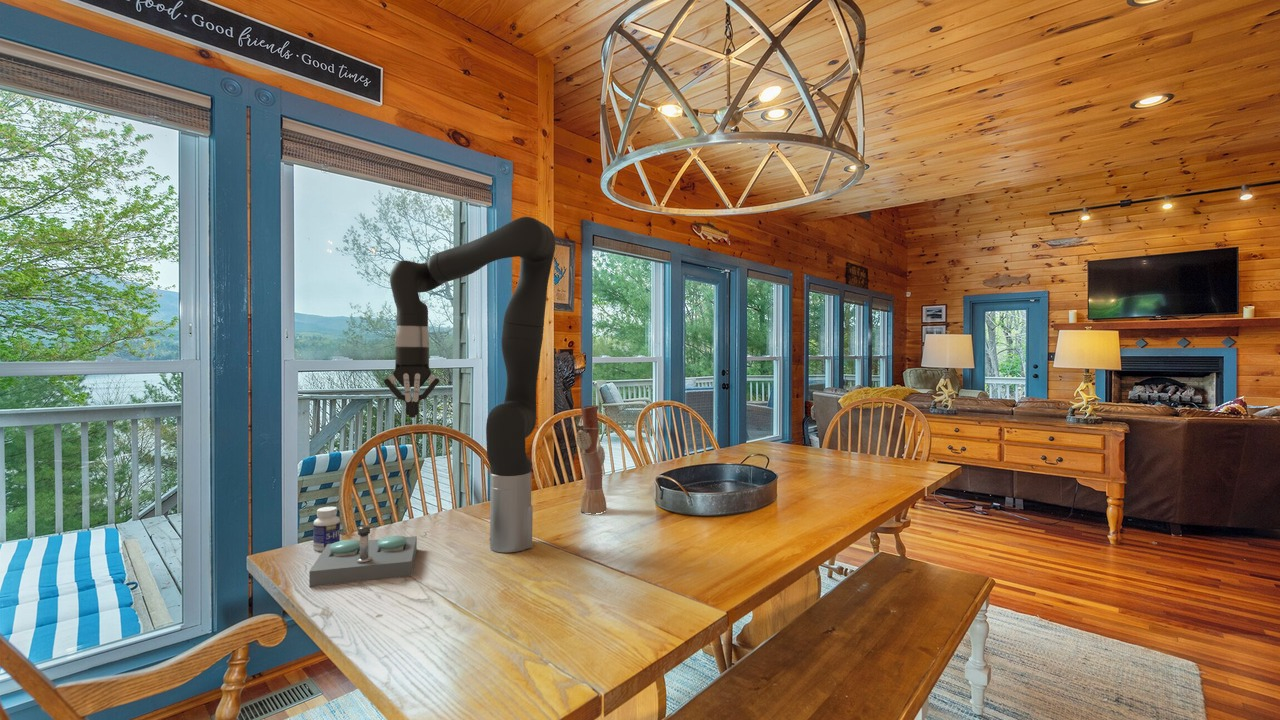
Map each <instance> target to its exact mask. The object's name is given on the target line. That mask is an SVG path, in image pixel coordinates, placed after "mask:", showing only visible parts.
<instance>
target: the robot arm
mask: <svg viewBox="0 0 1280 720" xmlns="http://www.w3.org/2000/svg"><path fill="white" fill-rule="evenodd" d="M555 250H556V236H555V234H554V232H553V230H552V228H550V227H549V226H548V225H547V224H546V223H544V222H541V221H540V220H539V219H537V218H534V217H530V216H521V217H518V218H516V219H514V220H512V221H509V222H508V223H506V224H505V225H503V226H500V227H498V228H497V229H496V230H494V231H491V232H489V233H487V234H485V235H484V236H481V237H479V238H477V239H474V240H472V241H469V242H467V243H464V244H460V245H458V246H455V247H452V248H448V249H445V250H443V251H439V252H436V253H434V254H432V255H431V256H430V257H429V258H428V261H427V262H422V263H419V262H416V261H415V262H414V261H410V260H405V259H403V260H399V261H397V262H396V263H395V264H393V266H392V268H391V270H390V275H389V281H390V289H391V292H392V295H393V299H394V300H393V301H394V303H395V307H396V330H395V331H396V332H395V340H394V345H395V355H394V356H395V357H394V358H395V359H394V360H395V367H394V369H393V370H392V371H393V372H392V375H390V376H389V377H388V378H385V379H384V381H383V383H384V384H385V385H386V387H387V388H388V389H389V390H390V391H391V393H393V394H394V396H395V397H396V398H397V399H398V400H401V401H404V402H405V414H406V416H408V419H409V418H410V419H411V418H414V419H415V418H416V417H417V416H418V415H419V413H420V406H419V405H420V401H423V400H425V399H427V397H428V396H429V395H430V394H431V392H432V391H433V390H434V389H435V388H436V387H437V385H439V383H440V381H441V379H440V378H438V377H436V376H434V375H433V374H432V370H431V369H430V333H429V332H430V331H429V310H428V305H427V304H426V303H424V302H422V301H421V299H420V295H419V294H420V293H427V292H429V291H433V290H435V289H436V288H438V287H441V286H442V285H443V284H445V283H449V282H452V281H454V280H458V279H461V278H464V277H467V276H469V275H472V274H473V273H476V272H478V270H480V269H481V268H483V267H485V266H487V265H488V264H490V263H493V262H496V261H499V260H503V259H508V258H516V257H517V258H518V257H519V258H520V260H519V262H520V263H519V275H518V281H517V285H516V288H515V290H514V292H513V295H512V296H511V298H510V300H509V302H508V305H507V307H506V309H505V312H504V316H503V320H502V321H503V324H502V333H501V351H502V352H501V353H502V356H503V357H502V358H503V361H504V366H505V371H506V390H505V396H504V400H503V403H501V404H498V405H496V406H495V407H493V408H492V409H491V410H490V412H489V414H488V416H487V419H486V425H485V436H486V437H485V438H486V457H487V461H488V464H489V466H490V467H489V468H490V471H489V473H490V474H489V475H490V477H489V478H490V480H489V481H490V482H489V483H490V484H489V485H490V487H489V488H490V489H489V492H490V493H489V494H490V495H489V500H490V501H489V503H490V506H489V507H490V508H489V509H490V510H489V515H490V516H489V520H490V521H489V535H490V536H489V545H490V546H489V548H490V550H491V551H493V552H498V553H516V552H522V551H525V550H528V549H533V520H534V519H533V515H534V514H533V511H534V509H533V505H532V460H531V459H530V458H529V457H528V455H527V450H526V438H528V437H529V436H530V435H532V433H533V431H534V430H535V428H536V424H537V387H538V385H537V384H538V376H539V368H540V362H541V352H542V345H543V340H544V330H545V329H544V327H545V315H546V306H547V295H548V284H549V279H550V274H551V268H552V264H553V259H554V255H555V252H556V251H555ZM428 379H429V380H428ZM396 380H397V382H398V383H399V384H400V386H401V387H403V388H404V390H403V391H404V394H403V393H402V391H401V390H400V389H399V388H398V387H397V386H396ZM426 381H428V385H429V386H427V388H425V390H424V392H423V393H421V392H420V390H421V388H422V387H423V386H424V384H425V383H426ZM412 388H413V396H412ZM420 393H421V394H420Z"/></svg>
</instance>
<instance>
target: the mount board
mask: <svg viewBox="0 0 1280 720" xmlns="http://www.w3.org/2000/svg"><path fill="white" fill-rule="evenodd" d="M405 537H406V545H404V546H403V550H398V551H387V552H381V548H378V540H380V539H381V538H380V539H371V540H370V539H369V552H368V556H371V557H372V560H371V561H370V562H367V563H357V562H356V559H357V558H358V557H360V548H359V549H358V550H357V554H355V555H344V556H334V553H332V552H330V545H331V544H333V543H331V544H327V546H326V547H325V549H324V550H323V551H321V552H320V555H319V556H318V558H317V559H316V560H315V562H314V563H313V565H312V567H311V569H310V570H309V579H308V580H309V588H314V587H315V588H316V587H322V586H323V587H324V586H332V585H340V584H341V585H342V584H343V585H344V584H351V583H360V582H369V581H379V580H387V579H388V580H389V579H398V578H406V577H412V575H413V570H414V569H413V568H414V564H415V560H416V559H415V558H416V555H417V551H418V550H417V548H418V547H417V544H418V542H417V541H418V537H417V536H416V535H414V536H405Z"/></svg>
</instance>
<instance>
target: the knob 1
mask: <svg viewBox="0 0 1280 720" xmlns="http://www.w3.org/2000/svg"><path fill="white" fill-rule="evenodd" d="M359 548H360V539H343V540H340V541H338V542H335V543H333V544H331V545H330V552H332V553H334V556H344V555H355V554H357V550H358V549H359Z"/></svg>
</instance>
